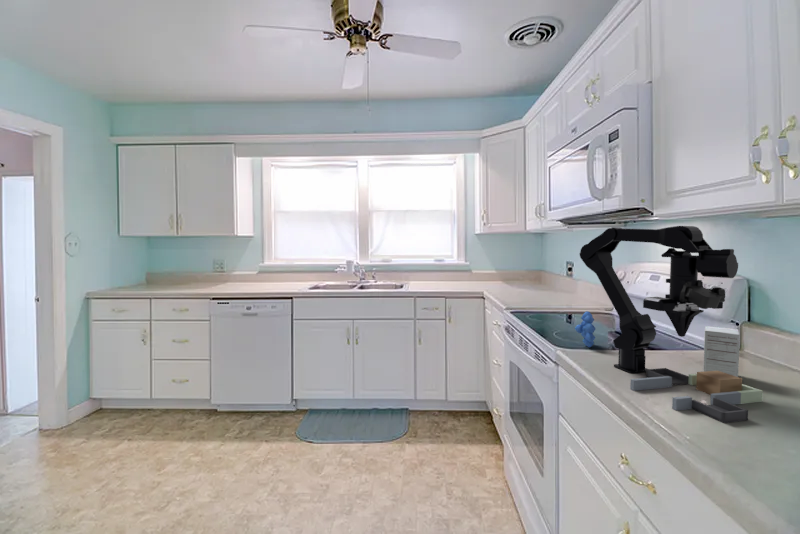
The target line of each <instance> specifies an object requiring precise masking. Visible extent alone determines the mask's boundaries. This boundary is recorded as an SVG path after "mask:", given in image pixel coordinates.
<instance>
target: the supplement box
mask: <svg viewBox="0 0 800 534" xmlns="http://www.w3.org/2000/svg"><path fill="white" fill-rule="evenodd" d="M740 335H741V334H740V329H737V328H728V327H718V326H709V325H708V326H707V325H706V326H705V327H704V338H703V339H704V341H703V370H702V372H704V371H721V372H724V373H727V374H730V375H733V376H736V377H739V367H740V366H739V364H740V363H739V362H740V341H741V340H740V339H741V338H740Z"/></svg>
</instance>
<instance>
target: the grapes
mask: <svg viewBox="0 0 800 534" xmlns="http://www.w3.org/2000/svg"><path fill="white" fill-rule="evenodd" d="M580 319H581V320H582V321H581V322H580V323H579V324H577V325H576V326H575V327H574V330H575V331H576V333H578V334H580V335H581V336H582V338H583V339H582V341H581V342H582V343H583V344H584V345H585V346H586V347H587V348H591V347H592V346H594V344H595V342H594V341H595V339H596V336H595V335H594V332H595V331H596V327H595V326H594V325H593V323H594V321H595V319H594V318H593V314H592V313H591V312H590V311H588V310H586V311H585V312H584V313H583V314H582V316H581V317H580Z"/></svg>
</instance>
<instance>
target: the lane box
mask: <svg viewBox="0 0 800 534" xmlns="http://www.w3.org/2000/svg"><path fill="white" fill-rule="evenodd" d="M629 384H630V385H629V386H630V388H629V389H630V390H631V391H642V390H643V391H644V390H655V389H656V390H657V389H666V388H672V387H673V386H679V385H681V386H682V385H689V386H696V384H697V373H690V374H688V375H686V374H683V373H680V372H677V371H674V370H671V369H669V368H666V367H660V368H651V369H650V368H647V369H646V372H645V377H639V378H630V383H629ZM763 392H764V391H763V390H762V389H758V388H756V387H752V386H749V385H746V384H743V383H742V391H734V392H723V393H713V394H711V395H710V403H709V404H706V403H703V402H700V401H698V400H696V399H693V397H692V396H689V395H684V396H674V397H673V396H672V398H671V399H672V402H671V405H672V406H671V407H672V408H671V409H672V410H674V411H683V410H684V411H685V410H693V411H695V412H698V413H700V414H703V415H705V416H707V417H709V418H712V419H714V420H716V421H718V422H720V423H723V424H727V423H735V422H743V421H744V422H745V421H749V410H748V409H746V408H743V407H740V406H737V405H741V404H742V405H743V404H753V403H762V402H763V396H764V395H763V394H764V393H763Z"/></svg>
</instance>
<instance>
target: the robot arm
mask: <svg viewBox="0 0 800 534" xmlns="http://www.w3.org/2000/svg"><path fill="white" fill-rule="evenodd" d="M621 242H635V243H637V242H638V243H650V244H651V243H652V244H659V245H661V246H663V247H668V248H667V250H666V251H664V252H663V253H662V254H661V255H660V256H661V257H662V258H670V266H669V267H670V269H669V273H670V274H669V278H665V283H668V284H669V294H667V293H666V294H665V297H661V296H646V297H645V298H644V299H643V302H642V308H644V309H649V310H653V311H658V312H665V314H666V316H667V318H669V320H670V322H671V323H672V326H673V328H674V330H675V332H676V334H677V335H678V336H679V337H685V336H686V334H687V332H688V329H689V328H690V326H691V324H692V321H693V320H694V318H695V317H696V316H697V315H699V314H702V313H704V311H705V310H707V309H713V310H714V309H715V310H718V309H719V310H720V309H723V308H724V305H723V304H724V302H725V301H726V289H724V288H722V287H720V286H718V287H713V288H706V287H704V286H703V285H704V282H703V280H702V279H699V278H698V275H699V274H700V275H701V277H706V278H707V277H708V278H720V279H722V278H723V279H733V278H735V277H736V275H737V274H738V273H737V272H738V270H739V262H738V259H737V256H736V255H735V250H734V249H733V248H726V249H725V248H723V249H713V248H712V247H711V246H710V245H709V243H708V242H707V241H706V240H705V238H704V235H703V232H702V230H701V229H700V228H699V227H697V226H694V225H676V226H668V227H663V228H655V229H651V228H649V229H648V228H623V227H619V226H618V227H615V226H612V227H608V228H607V229H606V230H604V231H603V232H602V233H601V234H599V235H598V236H596V237H594V238H593V239H591V241H589V242H588V243H587V244H584V245H583V246H582V247H581V248H580V251H579V257H580V259H581V261H582V263H583V264H584V265H585V266H586V267H587V268H588V269H589V270H590V271H592V272H593V273H594V274H595V275H596V276H597V278H598V281H599V282H600V284H601V286H602V288H603V289H604V291H605V293H606V294H607V297H608V299H609V300H610V302H611V304H612V306H613V308H614V310H615V312H616V313H617V315H618V319H619V320H618V321H619V329H620V334H619V335H618V336H617V337H615V338H614V339H613V341H612V342H613V346H614V347H615V349H618V363H616V364H613V367H614V368H617V369H620V370H622V371H624V372H627V373H631V374H633V373H641V372H642V373H646V369H648V368H647V367H646V350H645V348H649V346H650V344H651V342H653V341H654V340H655V339H656V335H657V331H656V328H657V326H656V325H655V324H654V323H653V321H652V318H651V316H650V315H649V314H648V313H644V314H642V313H640V311H638V310H637V309H636V306H635V305H634V303H633V301H632V299H631V298H630V296H629V295H628V293H627V291H626V289H625V287H624V285H623V284H622V282H621V280H620V278H619V276H618V275H617V273H616V271H615V270H614V267H613V256H612V253H613V252H614V251H615V250H616V249H617V247H618V245H619V244H620V243H621ZM676 249H678V250H676ZM679 249H680V250H679ZM681 249H682V250H681ZM693 254H694V255H693ZM698 273H699V274H698Z"/></svg>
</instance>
